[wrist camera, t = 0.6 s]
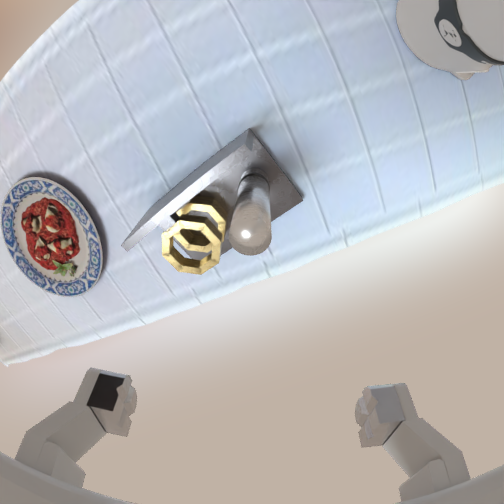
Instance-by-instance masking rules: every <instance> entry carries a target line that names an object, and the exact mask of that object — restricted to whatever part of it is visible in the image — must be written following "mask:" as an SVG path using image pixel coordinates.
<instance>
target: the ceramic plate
mask: <svg viewBox="0 0 504 504" xmlns="http://www.w3.org/2000/svg"><path fill="white" fill-rule="evenodd" d="M1 229H2V235H3V238H4V242H5V244H6V247H7V250H8V252H9V254H10V256H11V257H12V259H13V261H14V262H15V264H16V265H17V267H18V268H19V269H20V271H21V272H22V273H23V274H24V275H25V276H26V277H27V278H28V279H29V280H30V281H31V282H33V283H34V284H35V285H37V286H38V287H40V288H41V289H43V290H45V291H47V292H49V293H52V294H55V295H58V296H63V297H75V296H79V295H82V294H84V293H86V292H88V291H89V290H90V289H92V288H93V286H94V285H95V284H96V282H97V281H98V279H99V276H100V274H101V270H102V263H103V253H102V246H101V242H100V238H99V235H98V232H97V229H96V227H95V224H94V222H93V221H92V219H91V217H90V215H89V213H88V212H87V210H86V209H85V208H84V206H83V205H82V204H81V202H80V201H79V200H78V199H77V198H76V197H75V196H74V195H73V194H72V193H71V192H70V191H68V190H67V189H66V188H65V187H63V186H62V185H60V184H58V183H56V182H54V181H52V180H49V179H46V178H42V177H29V178H25V179H22V180H20V181H18V182H17V183H15V184H14V185H13V186H12V187H11V188H10V189H9V191H8V192H7V194H6V196H5V198H4V201H3V204H2V208H1Z"/></svg>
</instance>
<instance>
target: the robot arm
mask: <svg viewBox="0 0 504 504" xmlns="http://www.w3.org/2000/svg"><path fill="white" fill-rule="evenodd" d="M396 19H397V24H398V28H399V31H400V33H401V36H402V38H403V40H404V41H405V43H406V44H407V46H408V47H409V49H410V50H411V51H412V52H413V53H414V54H415V55H416V56H417V57H418V58H419V59H420V60H422V61H423V62H424V63H426V64H427V65H429V66H431V67H434V68H436V69H440V70H445V71H448V72H451V73H452V74H453V75H455V76H456V77H457V78H459V79H461V80H468V79H469V78H470V77H471V76H472V75H473V74H474V73H477V72H488V71H489V68H491V67H492V66H493V65H504V0H398V3H397V8H396ZM131 382H132V380H131V377H130V376H129V375H125V374H120V373H115V372H110V371H105V370H101V369H96V368H90V369H89V370H88V371H87V372H86V374H85V377H84V379H83V381H82V383H81V385H80V388H79V390H78V392H77V394H76V397H75V399H74V401H73V402H69V403H67V404H65V405H64V406H63V407H61V408H60V409H58V410H57V411H55V412H54V413H52V414H51V415H49V416H48V417H47V418H45V419H44V420H42V421H41V422H40V423H38V424H36V425H35V426H33V427H32V428H31V429H29V430H28V431H26V434H25V436H24V438H23V440H22V443H21V445H20V448H19V450H18V452H17V455H16V457H15V459H13V458H11V457H9V456H7V455H5V454H3V453H1V452H0V504H135V503H131V502H127V501H123V500H119V499H115V498H112V497H108V496H105V495H102V494H99V493H95V492H92V491H89V490H86V489H83V488H82V486H83V482H84V478H85V475H86V474H85V472H84V471H83V470H82V469H81V468H80V467H79V466H78V465H77V464H76V462H77V461H78V460H79V459H80V458H81V457H82V456H83V455H84V454H85V453H86V452H87V451H88V450H89V449H91V447H93V446H94V445H95V444H96V443H97V442H98V441H99V440H100V439H101V438H102V437H103V436H104V435H105V434H106V433H111V434H116V435H121V436H126V437H127V436H128V432H129V429H130V425H131V420H130V418H129V416H130V415H131V414H132V413H134V411H135V408H136V402H137V395H136V390H135V388H134V387H132V386H131ZM362 393H363V397H361V398H360V399H359V400H358V402H357V404H356V408H355V417H356V422H357V423H358V424H359V425H360V426H361V429H360V431H359V437H360V442H361V446H362V447H371V446H380V445H383V448H384V449H385V450H386V451H387V452H388V453H389V454H390V456H391V457H392V458H393V459H394V460H395V461H396V463H397V464H398V465H399V466H400V467H401V468H402V469H403V470H404V472H405V473H406V474H407V475H408V476H409V477H410V479H408V480H407V481H406V482H404V483H403V484H402V485H401V486H400V487H399V491H400V496H401V502H399V503H395V504H504V465H502V466H500V467H498V468H495V469H493V470H491V471H489V472H487V473H484V474H482V475H480V476H477V477H476V478H473V479H470V476H469V472H468V469H467V466H466V463H465V460H464V457H463V454H462V451H461V450H459V449H458V448H457V447H456V446H455V445H453V444H452V443H451V442H450V441H449V440H448V439H446V438H445V437H444V436H443V435H442V434H440V433H439V432H438V431H437V430H436V429H434V428H433V427H432V426H431V425H430V424H429V423H427V422H426V421H425V420H424V419H423V418H418V415H417V413H416V409H415V407H414V404H413V401H412V398H411V395H410V393H409V390H408V387H407V385H406V384H405V383H399V384H386V385H377V386H367V387H366V388H364V390H363V392H362Z"/></svg>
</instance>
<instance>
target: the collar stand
mask: <svg viewBox="0 0 504 504" xmlns="http://www.w3.org/2000/svg"><path fill="white" fill-rule="evenodd" d="M252 168H257V169H260V170H262V171H264V172H265V173H266V175H267V177H268V180H269V185H270V192H269V198H270V216H271V221H273V220H274V219H276V218H278V217H279V216H281V215H282V214H284V213H285V212H287V211H288V210H290V209H291V208H293V207H294V206H296V205H297V204H299V203H300V202H302V201H303V198H302V197H301V195H300V194H299V192H298V191H297V190H296V188H295V187H294V186H293V184H292V183H291V182H290V180H289V179H288V178H287V176H286V175H285V174H284V172H283V171H282V170H281V168H280V167H279V166H278V164H277V163H276V162H275V160H274V159H273V158H272V157H271V155H270V154H269V153H268V151H267V150H266V149H265V148H264V146H263V145H262V144H261V142H260V141H259V140H258V139H257V137H256V136H255V135H254V134H253V132H252V131H251V130H250V129H248V130H246V131H245V132H244V133H242V134H241V135H239V136H238V137H237V138H235V139H234V140H233V141H231V142H230V143H229V144H228V145H226V146H225V147H224V148H222V149H221V150H220V151H218V152H217V153H216V154H215V155H213V156H212V157H211V158H209V159H208V160H207V161H206V162H204V163H203V164H202V165H201V166H199V167H198V168H197V169H196V170H194V171H193V172H192V173H191V174H190V175H188V176H187V177H186V178H185V179H183V180H182V181H181V182H180V183H179V184H177V185H176V186H175V187H174V188H173V189H171V190H170V191H169V192H168V193H167V194H166V195H164V196H163V197H162V198H161V199H160V200H159V201H158V202H156V203H155V204H154V205H153V206H152V207H151V208H150V209H149V210H148V211H147V212H146V214H145V215H144V216H143V217H142V219H141V220H140V221H139V222H138V224H137V225H136V226H135V228H134V229H133V230H132V231H131V233H130V234H129V235H128V237H127V238H126V239H125V241H124V242H123V243H122V245H121V246H122V247H123V248H124V249H125V250H126V251H127V252H128V251H129V250H130V249H131V248H132V247H134V246H135V245H136V244H137V243H138V242H139V241H141V240H142V239H143V238H144V237H145V236H146V235H148V234H149V233H150V232H151V231H152V230H153V229H155V228H156V227H157V226H158V225H159V226H160V227H161V228H162V229H163V230H164V232H163V233H162V255H163V257H164V258H165V259H166V260H167V261H168V262H169V263H170V264H171V265H172V266H173V267H174V268H175V269H176V270H177V271H178V272H186V273H193V274H200V275H201V274H203V273H204V272H206V271H207V270H209V269H210V268H212V267H213V266H215V265H216V264H218V263H219V260H220V256H221V255H222V254H224V253H225V252H226V251H228V250H229V249H231V248H232V245H231V244H230V241H229V231H230V226H231V222H232V217H233V212H234V207H235V203H236V198H237V194H238V186H239V182H240V180H241V176H242V175H243V173H244V172H245V171H247V170H249V169H252ZM173 240H174V241H175V242H176V243H177V244H178V245H179V246H180V247H181V248H182V249H183V250H184V251H185V252H186V253H187V254H188V255H189V256H190V257H191V258H192V259H189V258H184V257H183V256H182V255H181V254H180V253H179V252H178V251H177V250H176V249H175V248H174V246H173Z"/></svg>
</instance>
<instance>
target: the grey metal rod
mask: <svg viewBox="0 0 504 504" xmlns="http://www.w3.org/2000/svg"><path fill="white" fill-rule="evenodd" d="M269 192H270V185H269V180H268V177H267V175H266V173H265V172H264V171H262V170H260V169H257V168H252V169H249V170H247V171H245V172H244V173H243V175H242V176H241V180H240V182H239V186H238V194H237V198H236V203H235V207H234V212H233V217H232V222H231V226H230V231H229V241H230V244H231V245H232V247H233V248H234V249H235V250H236V251H237V252H239V253H241V254H244V255H257V254H260V253H262V252H263V251H265V250H266V249H267V248H268V247H269V245H270V243H271V238H272V236H271V216H270V198H269Z"/></svg>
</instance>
